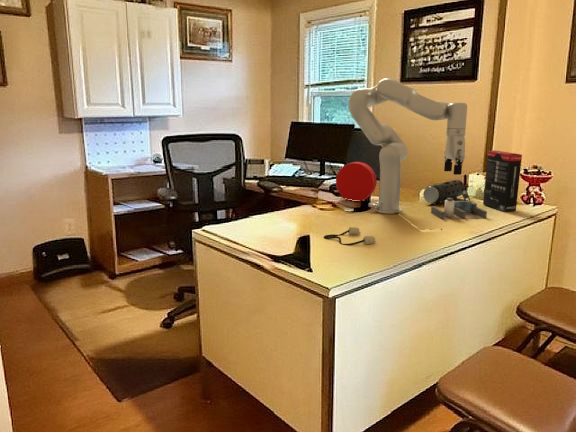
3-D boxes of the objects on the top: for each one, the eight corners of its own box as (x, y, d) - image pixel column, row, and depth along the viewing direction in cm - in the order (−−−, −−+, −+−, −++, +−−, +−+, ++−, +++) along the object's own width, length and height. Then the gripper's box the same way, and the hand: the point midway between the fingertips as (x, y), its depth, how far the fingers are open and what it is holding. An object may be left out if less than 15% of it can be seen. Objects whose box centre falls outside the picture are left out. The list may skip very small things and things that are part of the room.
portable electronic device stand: (476, 212, 223) (478, 194, 221) (459, 210, 225) (460, 193, 223) (476, 208, 231) (477, 191, 229) (458, 207, 233) (460, 190, 231)
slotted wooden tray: (442, 221, 204) (443, 208, 202) (429, 214, 217) (430, 201, 216) (487, 221, 205) (488, 207, 204) (472, 213, 219) (473, 200, 218)
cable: (338, 249, 167) (338, 240, 166) (320, 237, 182) (321, 228, 181) (378, 245, 172) (378, 236, 171) (357, 233, 187) (357, 225, 186)
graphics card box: (517, 211, 223) (523, 153, 216) (504, 212, 221) (510, 153, 215) (493, 204, 239) (499, 149, 233) (481, 205, 237) (486, 150, 231)
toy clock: (375, 201, 246) (377, 162, 241) (372, 203, 241) (374, 164, 236) (338, 198, 254) (339, 160, 249) (335, 200, 249) (336, 162, 244)
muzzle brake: (464, 199, 252) (466, 180, 249) (438, 207, 232) (440, 186, 230) (447, 197, 258) (449, 178, 256) (421, 204, 239) (422, 184, 237)
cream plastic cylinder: (446, 217, 208) (447, 199, 206) (442, 215, 211) (443, 197, 210) (454, 217, 208) (456, 199, 206) (451, 215, 212) (452, 197, 210)
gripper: (473, 133, 193) (469, 175, 197) (455, 131, 210) (452, 170, 214) (455, 133, 193) (452, 175, 196) (439, 131, 209) (436, 170, 213)
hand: (452, 172), depth 205 cm, fingers open, 9 cm apart
